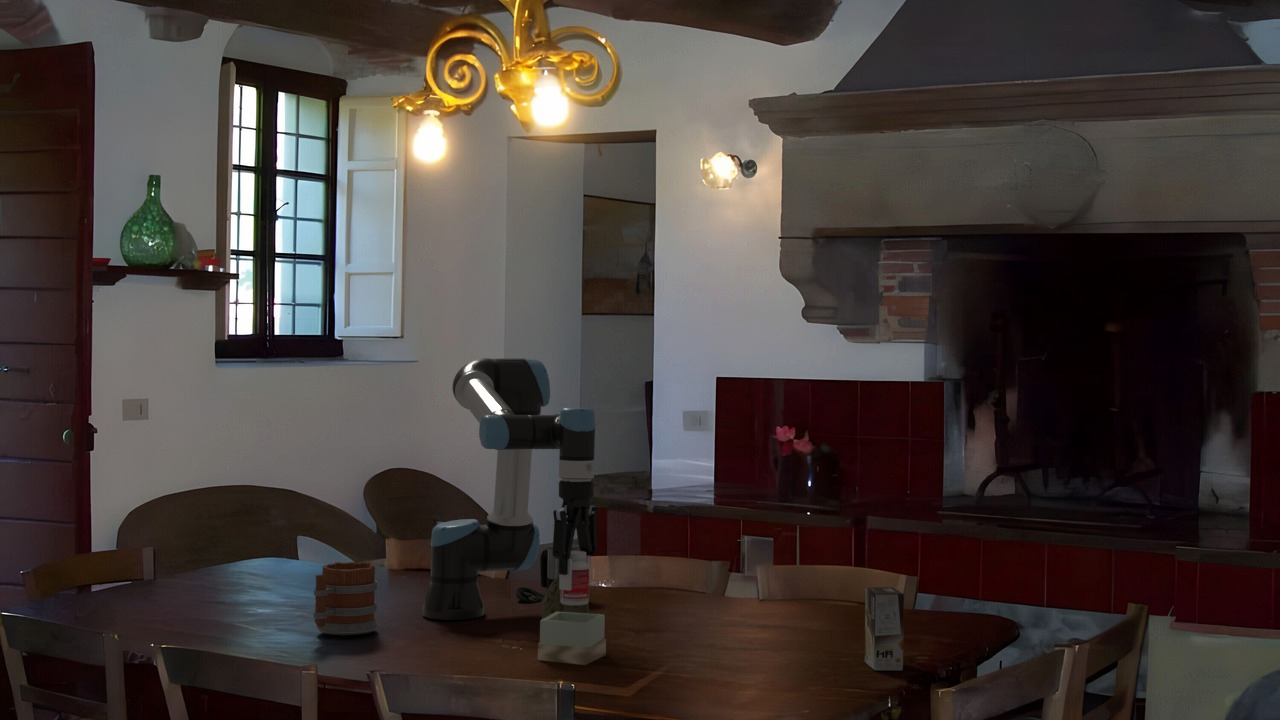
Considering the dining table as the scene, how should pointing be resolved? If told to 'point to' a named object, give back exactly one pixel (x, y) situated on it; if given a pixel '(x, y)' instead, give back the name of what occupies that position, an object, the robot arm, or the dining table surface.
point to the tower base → (572, 653)
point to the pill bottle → (577, 581)
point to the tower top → (572, 629)
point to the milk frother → (544, 574)
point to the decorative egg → (558, 602)
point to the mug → (346, 599)
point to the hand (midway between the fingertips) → (574, 587)
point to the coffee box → (884, 628)
